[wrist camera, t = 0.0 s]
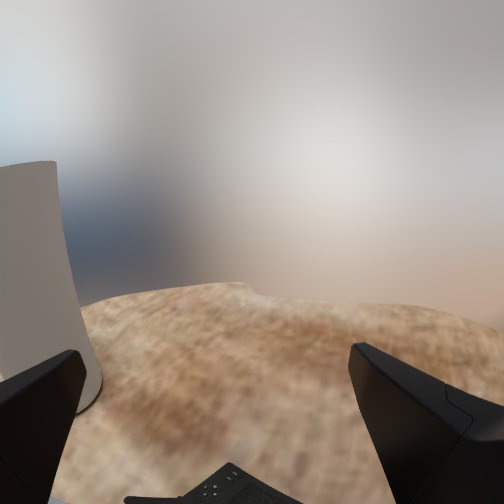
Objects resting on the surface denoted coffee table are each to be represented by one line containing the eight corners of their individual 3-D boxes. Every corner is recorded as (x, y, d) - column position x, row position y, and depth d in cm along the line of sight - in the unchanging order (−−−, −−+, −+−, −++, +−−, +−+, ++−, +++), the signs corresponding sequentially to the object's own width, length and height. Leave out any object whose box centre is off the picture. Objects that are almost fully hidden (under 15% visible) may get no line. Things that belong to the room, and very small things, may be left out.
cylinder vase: (117, 364, 33) (77, 160, 26) (81, 434, 21) (-3, 164, 14) (45, 356, 32) (3, 179, 25) (3, 409, 20) (-69, 193, 13)
